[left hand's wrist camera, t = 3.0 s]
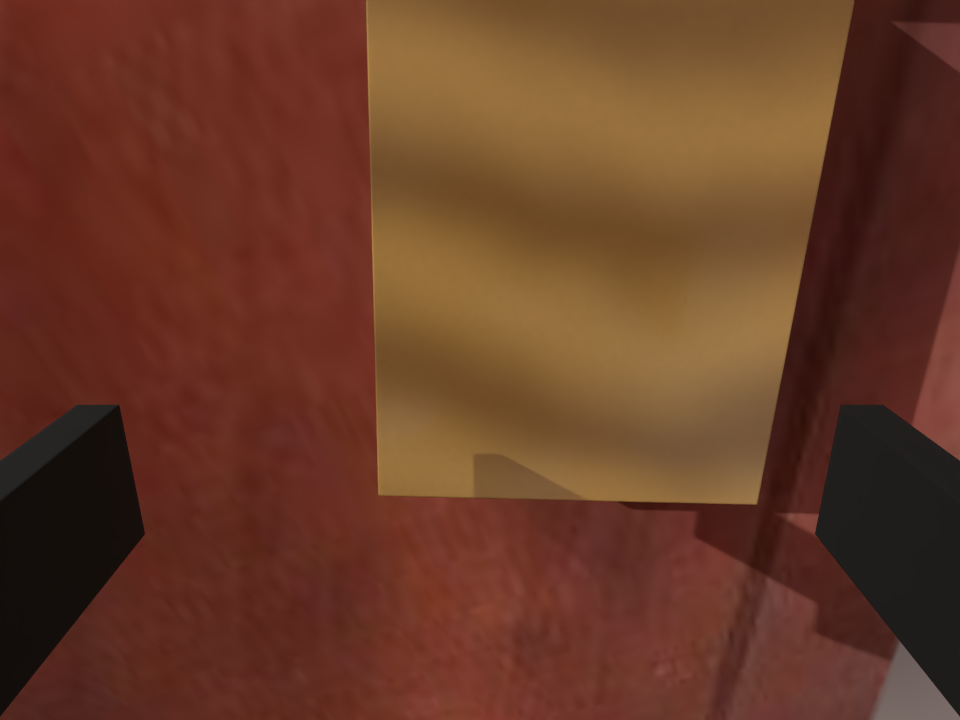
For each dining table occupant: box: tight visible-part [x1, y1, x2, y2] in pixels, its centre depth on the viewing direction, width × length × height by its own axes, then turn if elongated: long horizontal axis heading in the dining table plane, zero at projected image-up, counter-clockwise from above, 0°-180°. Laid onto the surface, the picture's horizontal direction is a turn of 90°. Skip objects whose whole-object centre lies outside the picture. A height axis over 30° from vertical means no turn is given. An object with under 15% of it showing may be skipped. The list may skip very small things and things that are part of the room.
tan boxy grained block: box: [366, 0, 855, 505], centre depth 20 cm, size 17×11×8 cm, turn 178°
